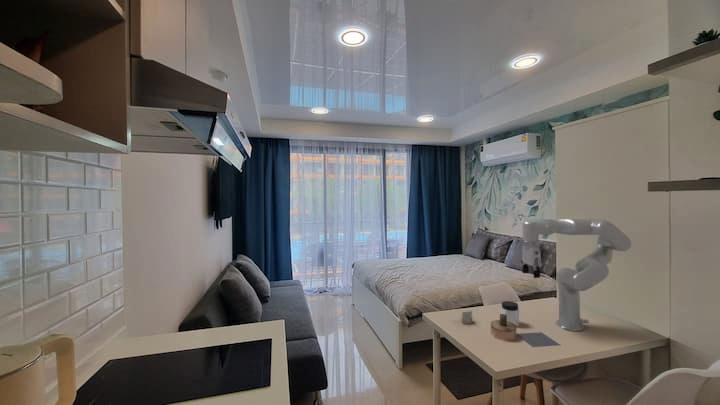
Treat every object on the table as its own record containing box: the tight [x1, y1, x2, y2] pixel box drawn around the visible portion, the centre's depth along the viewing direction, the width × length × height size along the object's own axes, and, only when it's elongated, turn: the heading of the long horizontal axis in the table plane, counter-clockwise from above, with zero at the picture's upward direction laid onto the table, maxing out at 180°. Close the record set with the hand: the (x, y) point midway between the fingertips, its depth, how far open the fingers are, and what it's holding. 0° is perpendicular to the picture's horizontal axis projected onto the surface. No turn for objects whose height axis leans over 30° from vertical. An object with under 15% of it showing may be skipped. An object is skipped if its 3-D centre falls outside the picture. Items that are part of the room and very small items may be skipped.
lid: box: [490, 313, 518, 332], centre depth 158 cm, size 12×12×6 cm
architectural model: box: [459, 310, 474, 325], centre depth 176 cm, size 3×7×7 cm, turn 97°
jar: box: [500, 300, 520, 327], centre depth 171 cm, size 9×8×12 cm
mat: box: [516, 331, 561, 348], centre depth 153 cm, size 14×14×1 cm
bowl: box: [490, 326, 517, 342], centre depth 158 cm, size 11×11×5 cm
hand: (531, 275), depth 168 cm, fingers open, 9 cm apart
